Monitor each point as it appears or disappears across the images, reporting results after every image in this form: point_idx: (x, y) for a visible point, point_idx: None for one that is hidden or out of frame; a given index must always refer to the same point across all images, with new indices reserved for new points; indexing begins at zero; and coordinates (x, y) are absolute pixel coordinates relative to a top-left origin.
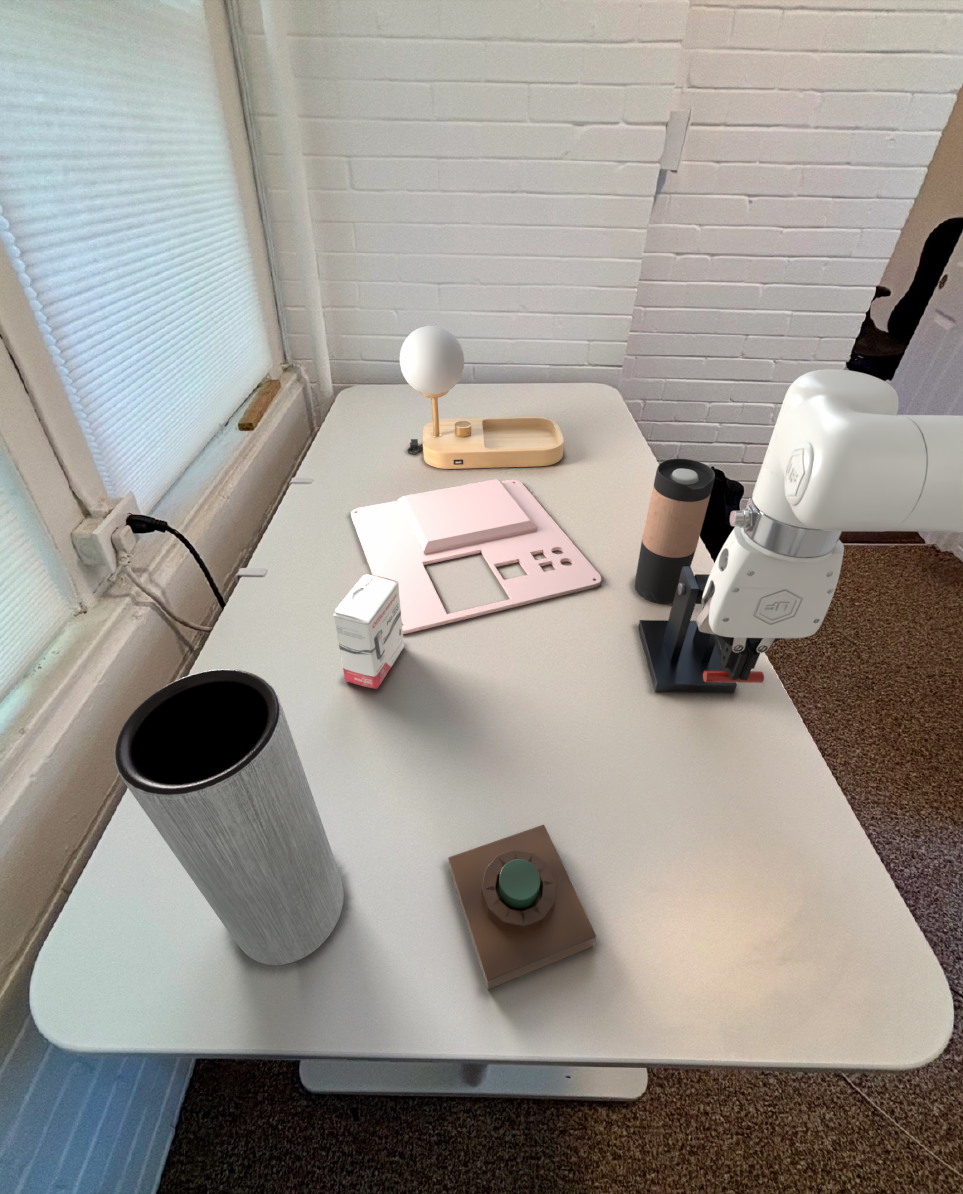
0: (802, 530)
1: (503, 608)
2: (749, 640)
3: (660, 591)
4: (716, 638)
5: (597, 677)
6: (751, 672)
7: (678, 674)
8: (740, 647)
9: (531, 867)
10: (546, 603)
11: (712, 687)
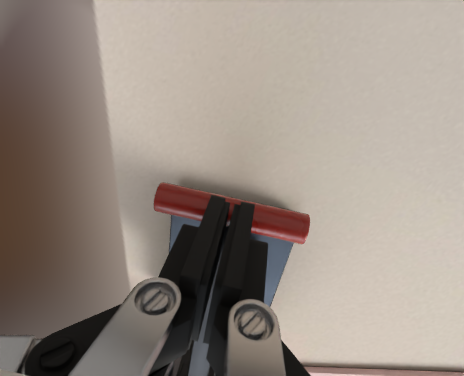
0: None
1: (437, 373)
2: (189, 334)
3: None
4: None
5: (372, 256)
6: (183, 213)
7: (255, 235)
8: (245, 323)
9: None
10: (369, 364)
11: None
